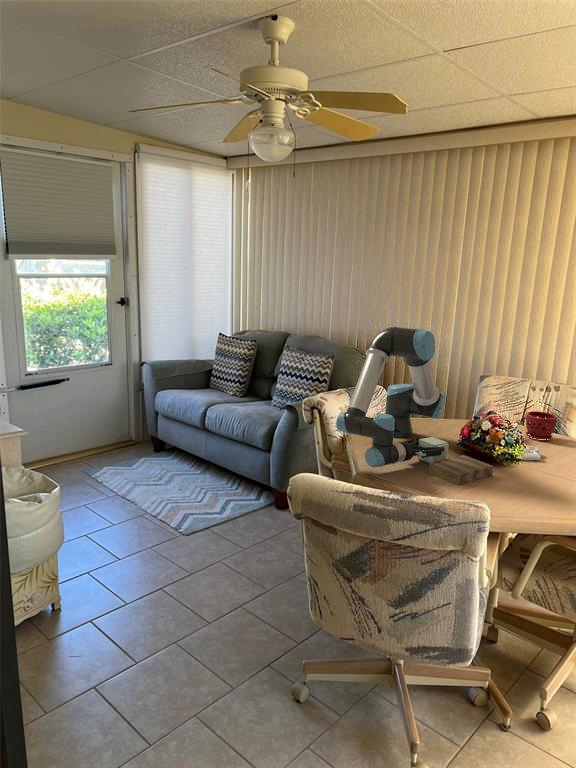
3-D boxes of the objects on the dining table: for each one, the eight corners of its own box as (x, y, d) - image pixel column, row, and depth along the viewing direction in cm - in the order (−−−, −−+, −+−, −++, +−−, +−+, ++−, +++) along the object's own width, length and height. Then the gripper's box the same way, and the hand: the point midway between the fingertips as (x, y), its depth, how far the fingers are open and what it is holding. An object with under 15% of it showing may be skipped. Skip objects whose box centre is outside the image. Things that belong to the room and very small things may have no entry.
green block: (430, 455, 235) (432, 436, 234) (445, 461, 229) (447, 442, 227) (416, 458, 231) (418, 439, 229) (432, 464, 224) (434, 445, 223)
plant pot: (520, 433, 278) (523, 409, 276) (548, 436, 277) (552, 412, 274) (527, 441, 266) (531, 416, 263) (557, 444, 264) (561, 419, 262)
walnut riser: (461, 464, 228) (463, 455, 227) (492, 475, 216) (493, 465, 216) (428, 472, 216) (429, 462, 215) (458, 485, 205) (459, 474, 204)
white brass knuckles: (505, 461, 236) (491, 450, 250) (547, 462, 237) (531, 451, 251) (506, 453, 235) (492, 443, 249) (548, 455, 236) (532, 444, 251)
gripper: (379, 453, 227) (418, 445, 240) (419, 470, 210) (458, 460, 223) (381, 435, 225) (420, 428, 238) (421, 450, 209) (461, 442, 222)
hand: (438, 444), depth 231 cm, fingers closed on green block, 8 cm apart
